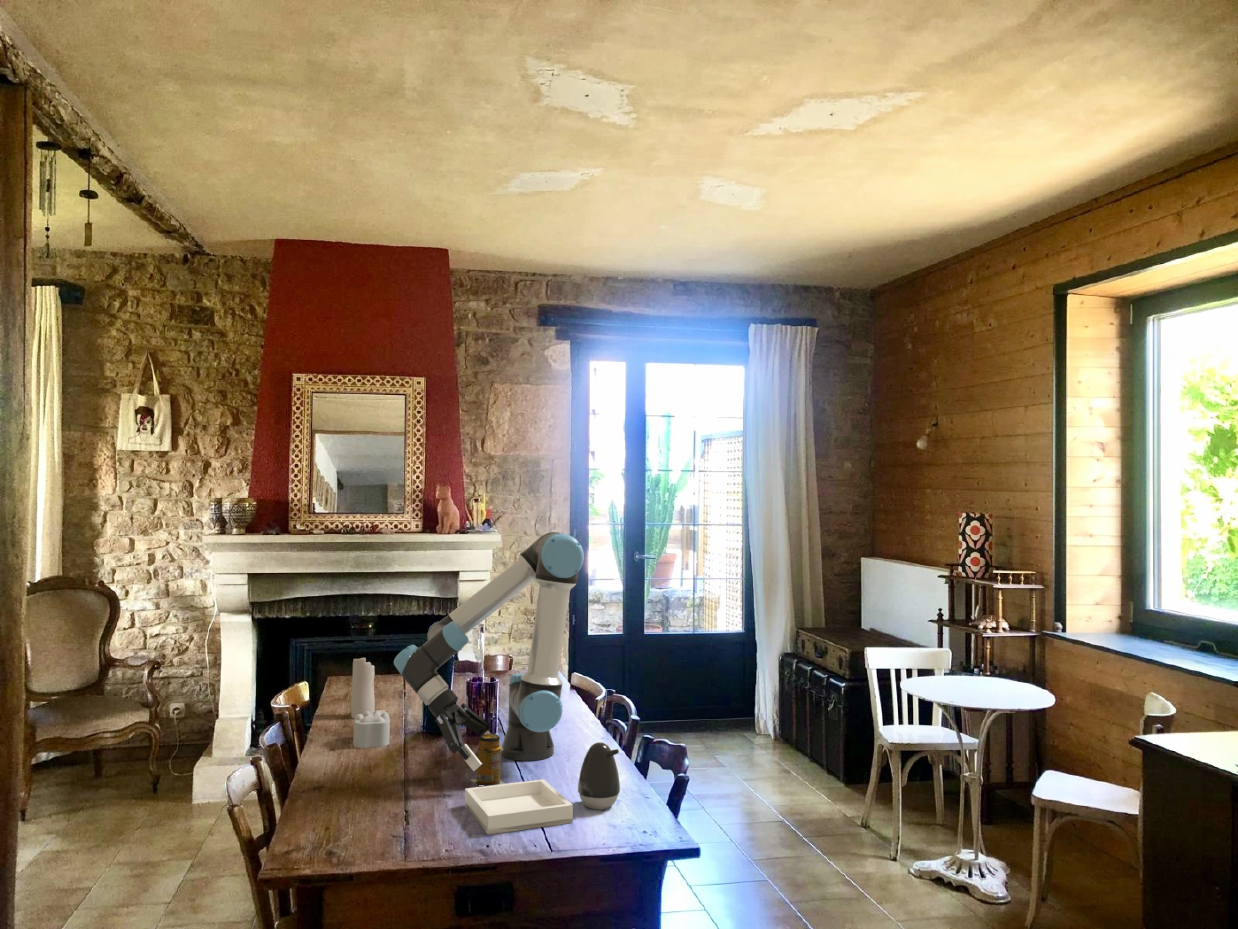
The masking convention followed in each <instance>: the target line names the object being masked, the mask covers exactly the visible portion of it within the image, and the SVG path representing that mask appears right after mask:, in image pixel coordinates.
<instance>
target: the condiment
mask: <svg viewBox="0 0 1238 929" xmlns="http://www.w3.org/2000/svg"><path fill="white" fill-rule="evenodd" d="M500 739H501V738H500V735H498V734H494V733H491V734H484V735H482V736H481V735H480V736H479V742H478V744H479V745H478V747H477V756H476V757H477V758H478V759H479V761H480V762H481V763H482V764H481V765H480V766H479V767H478V768H477V769H476V778H471V779H470V781H471V782H472V783H473V784H474V785H475V786H476V787H483V786H479V785H484V786H492V785H500V784H506V783H505V781H502V780H501V766H502V765H501V763H502V762H501V759H502V751H501V747H502V746H501V745H500V744H501V741H500ZM500 746H501V747H500ZM500 781H501V783H500Z"/></svg>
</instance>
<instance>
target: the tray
mask: <svg viewBox="0 0 1238 929" xmlns="http://www.w3.org/2000/svg"><path fill="white" fill-rule="evenodd" d="M464 791H465V792H464V806H465V808H466V809H467V810H468V811H469V813H470V814H471V815H472V816H473V818H474V819H475V820H476V821H477V822H478V824H479V825H480V827H481V828H482V829H483V830H484V831H485V833H486V834H487V835H488V836H490V835H496V834H503V833H509V832H517V831H522V830H528V829H537V828H543V827H552V826H557V825H566V824H573V820H574V819H573V818H574V817H573V816H574V815H573V814H574V805H573V804H572V803H571V802H570V801H569V800H567V798H566V797H565V796H563V795H562V794H561V793H560V792H559V791H558V790H557V789H556V788H555V787H553V785H552V784H550V783H549V782H548V781H546V780H545V779H537V780H535V779H534V780H527V781H518V782H510V783H509V782H508V783H505V784H500V785H492V786H483V787H477V786H475V787H469V788H465V790H464Z"/></svg>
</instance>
